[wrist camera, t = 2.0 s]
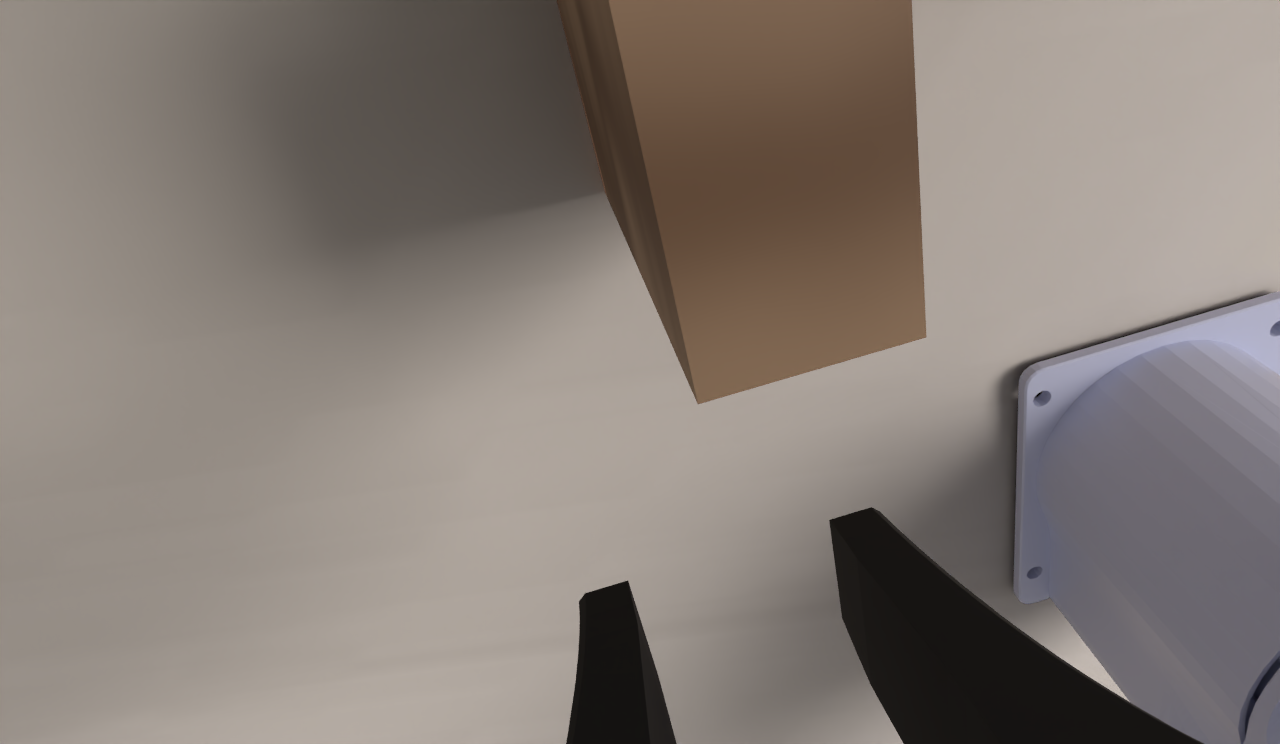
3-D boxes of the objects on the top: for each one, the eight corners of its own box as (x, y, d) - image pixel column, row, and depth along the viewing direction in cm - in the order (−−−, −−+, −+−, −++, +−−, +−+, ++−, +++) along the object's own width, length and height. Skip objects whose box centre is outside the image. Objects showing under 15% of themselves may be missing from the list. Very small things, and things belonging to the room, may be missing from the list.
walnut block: (756, 149, 21) (926, 337, 14) (605, 191, 20) (697, 403, 13) (711, -152, 17) (907, -111, 10) (530, -104, 17) (602, -29, 10)
